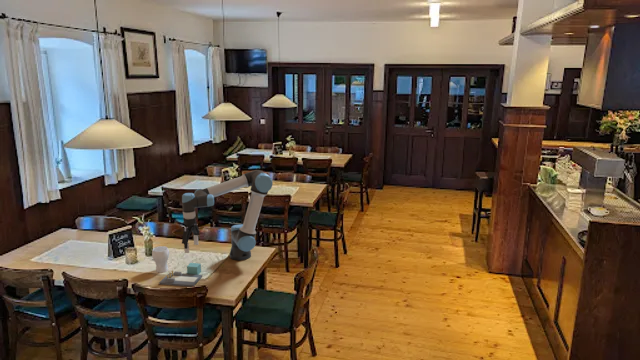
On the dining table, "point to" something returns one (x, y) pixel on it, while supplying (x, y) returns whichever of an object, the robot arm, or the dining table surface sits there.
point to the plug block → (194, 268)
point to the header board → (180, 279)
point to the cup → (161, 258)
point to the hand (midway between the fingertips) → (191, 248)
